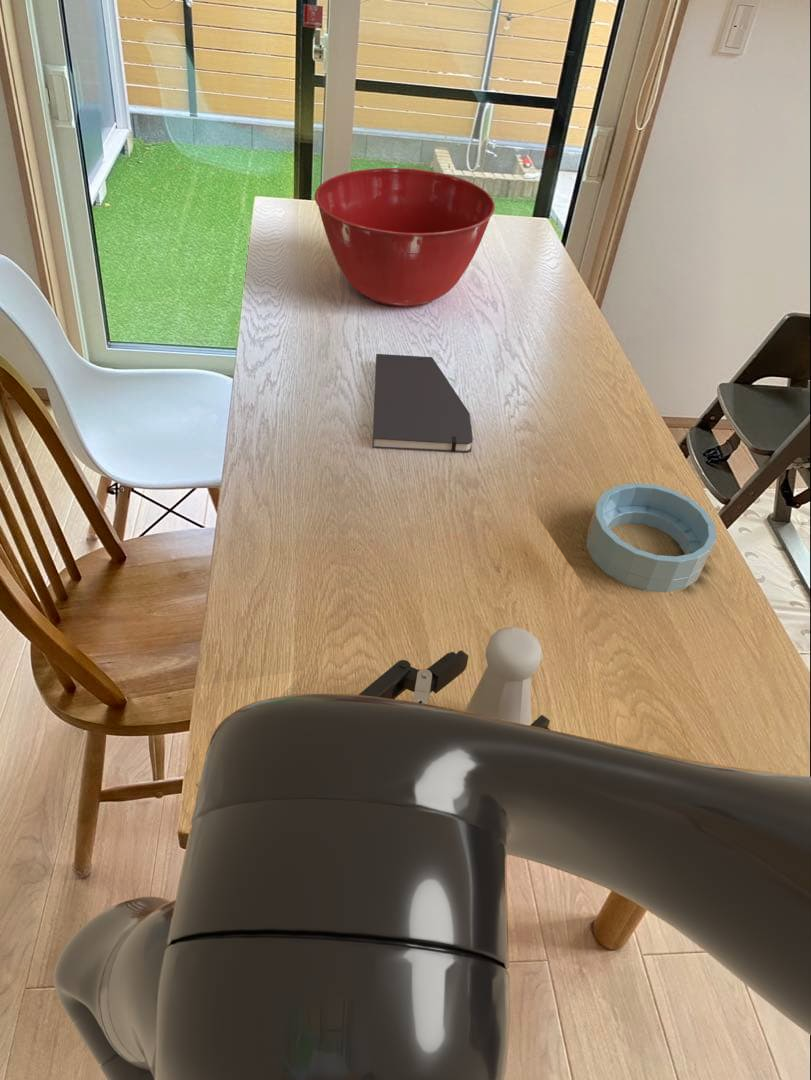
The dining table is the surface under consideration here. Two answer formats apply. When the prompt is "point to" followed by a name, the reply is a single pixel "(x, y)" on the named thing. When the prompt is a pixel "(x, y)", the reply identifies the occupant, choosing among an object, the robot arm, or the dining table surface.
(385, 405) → the notebook
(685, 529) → the light-blue faceted ring
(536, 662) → the salt shaker
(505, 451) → the dining table surface
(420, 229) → the mixing bowl
